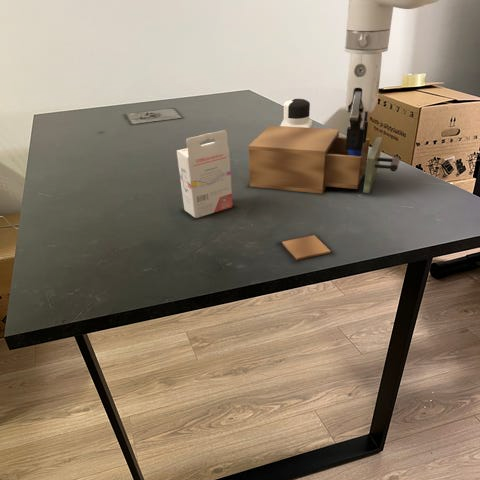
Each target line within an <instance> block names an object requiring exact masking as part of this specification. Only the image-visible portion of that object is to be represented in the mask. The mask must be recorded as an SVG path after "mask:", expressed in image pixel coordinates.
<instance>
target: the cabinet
mask: <svg viewBox="0 0 480 480" xmlns="http://www.w3.org/2000/svg"><path fill="white" fill-rule="evenodd" d="M336 137H340V129H336V128H321V127H320V128H318V127H312V128H304V127H287V126H280V125H269V126H267V128H266V129H265V130H264V131H263V132H262V133H260V134H259V135H258V136H257V137H256V138H255V139H254V140H253V141H252V142H251V143H250V144H248V165H249V166H248V167H249V168H248V170H249V187H250V188H261V189H268V190H269V189H270V190H279V191H288V192H289V191H291V192H299V193H301V192H302V193H310V194H320V195H322V194H324V192H325V190H326V188H327V186H324V172H325V157H326V153H327V151H328V150H329V148H330V147H331V145H332V144H333V142H334V140H335V139H336Z"/></svg>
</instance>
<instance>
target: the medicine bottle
mask: <svg viewBox="0 0 480 480" xmlns="http://www.w3.org/2000/svg"><path fill="white" fill-rule="evenodd" d="M310 109H311V103H310V101H309V100H308V99H305V98H291V99H288V100H286V101H284V103H283V119H282V121H281V123H280V125H279V126H287V127H304V128H313V126H314V125H313V124H314V123H313V122H314V119H313V118H310Z"/></svg>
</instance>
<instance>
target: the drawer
mask: <svg viewBox="0 0 480 480" xmlns="http://www.w3.org/2000/svg"><path fill="white" fill-rule="evenodd" d="M346 137H347V136H339V137H336V139H335V140H334V142H333V144H332V145H331V147H330V148H329V150H328V151H327V153H326V157H325V172H324V186H326V187H332V188H342V189H353V190H358V188H359V186H360V184H361V181H362V180H363V176H364V175H365V176H364V183H363V190H362V192H363V193H364V194H370V193H371V191H372V187H373V184H374V183H375V182H374V181H375V179H376V176H377V174H378V171H379V169H385V170H390V171H391V172H393V173H394V172H397V170H398V167H399V164H400V157H399V156H398V155H397V156H394V157H392V158H391V157H381V152H382V145H383V137H379V136H377V137H376V138H375V140H374V143H373V144H372V147H371V150H370V152H369V148H370V140H371V138H366V142H365V143H363V146H362V153H361V156H351V155H348V152H349V150H347V149H346ZM380 162H386V163H391V164H384V163H383V164H381V163H380Z"/></svg>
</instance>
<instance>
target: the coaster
mask: <svg viewBox="0 0 480 480" xmlns="http://www.w3.org/2000/svg"><path fill="white" fill-rule="evenodd" d="M281 244H282V245H283V246H284V247H285V249H286V250H287V251H288V253H290V254H291V256H293V258H294V259H295V260H296V261H300V260H305V259H309V258H314V257H319V256H324V255H327V254H331V251H332V250H330V249H329V248H328V247H327V246H326V245H325V244H324V243H323V242H322V241H321V240H320V238H318V237H317V236H316V235H315V234H313V235H308V236H303V237H297V238H293V239H288V240H284V241H283V240H282V242H281Z"/></svg>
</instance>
